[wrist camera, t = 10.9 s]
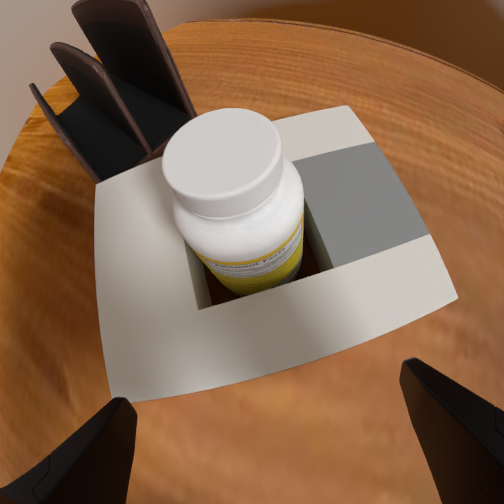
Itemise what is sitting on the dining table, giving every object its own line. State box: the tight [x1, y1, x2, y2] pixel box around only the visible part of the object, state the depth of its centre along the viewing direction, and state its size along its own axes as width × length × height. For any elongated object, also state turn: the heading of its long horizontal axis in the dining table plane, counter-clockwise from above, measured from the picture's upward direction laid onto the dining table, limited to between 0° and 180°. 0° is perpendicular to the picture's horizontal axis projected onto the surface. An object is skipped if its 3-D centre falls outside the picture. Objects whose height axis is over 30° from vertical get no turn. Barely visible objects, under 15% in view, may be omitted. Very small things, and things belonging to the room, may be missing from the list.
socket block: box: [94, 105, 458, 403], centre depth 16 cm, size 14×18×4 cm
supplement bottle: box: [162, 108, 304, 297], centre depth 13 cm, size 5×5×10 cm
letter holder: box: [29, 0, 198, 184], centre depth 20 cm, size 10×20×14 cm, turn 45°
